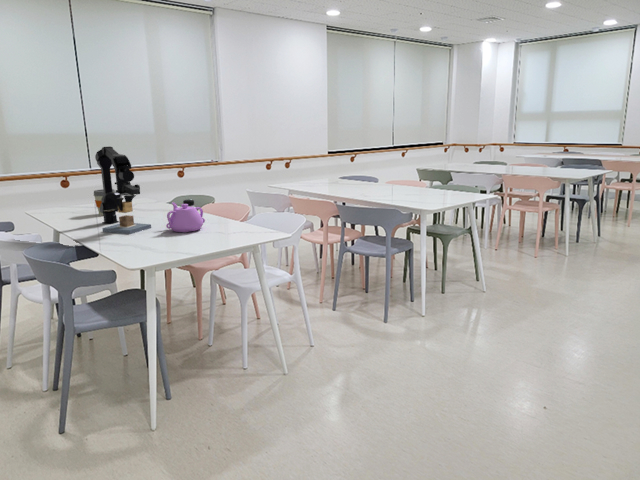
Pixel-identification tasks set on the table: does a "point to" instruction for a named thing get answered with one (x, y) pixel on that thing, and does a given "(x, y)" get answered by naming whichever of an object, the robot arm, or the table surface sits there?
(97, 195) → the reusable coffee cup
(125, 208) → the ochre block
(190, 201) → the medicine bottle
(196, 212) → the teapot
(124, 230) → the board
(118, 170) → the robot arm
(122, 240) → the table surface
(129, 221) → the walnut block
